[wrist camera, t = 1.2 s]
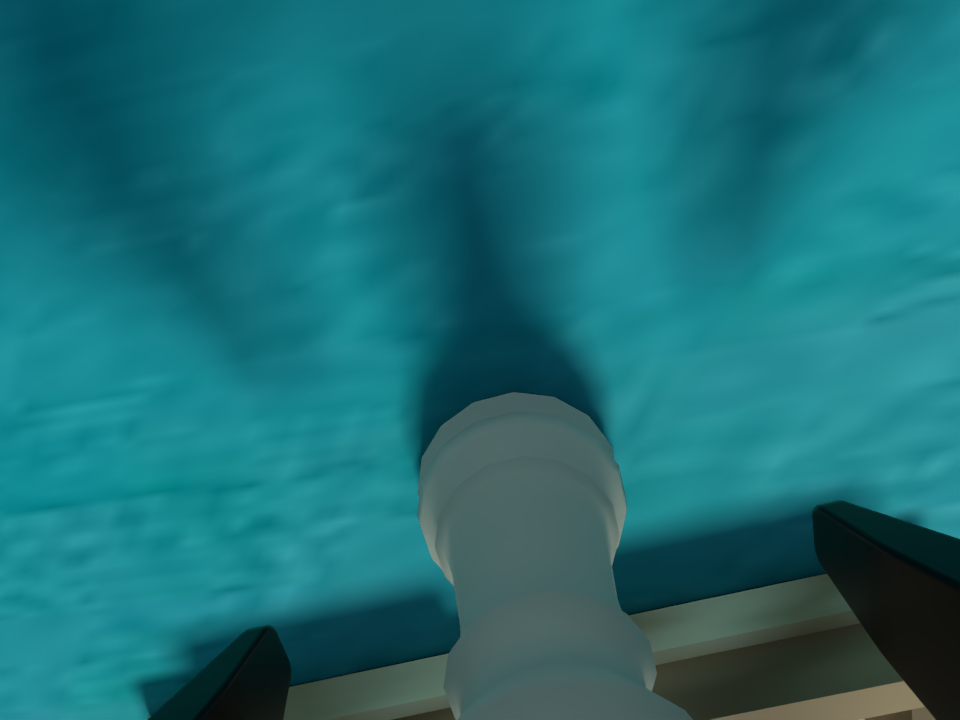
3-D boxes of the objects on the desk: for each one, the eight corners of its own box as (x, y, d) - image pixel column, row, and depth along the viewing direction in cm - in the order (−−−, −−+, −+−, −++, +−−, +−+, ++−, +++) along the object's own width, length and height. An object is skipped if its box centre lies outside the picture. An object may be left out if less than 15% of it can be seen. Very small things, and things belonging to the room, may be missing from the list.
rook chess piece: (379, 484, 12) (233, 943, 5) (509, 343, 12) (587, 629, 4) (522, 590, 13) (591, 1118, 6) (653, 466, 12) (947, 896, 5)
